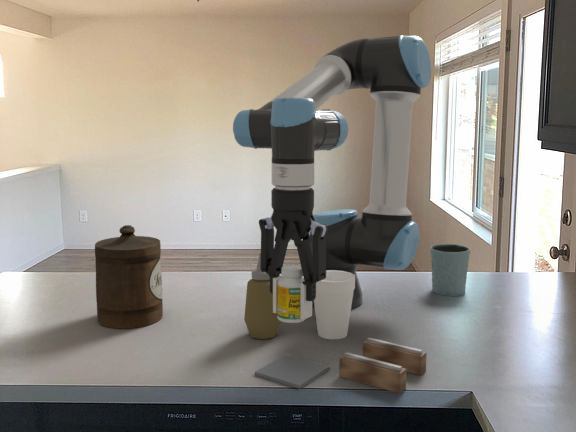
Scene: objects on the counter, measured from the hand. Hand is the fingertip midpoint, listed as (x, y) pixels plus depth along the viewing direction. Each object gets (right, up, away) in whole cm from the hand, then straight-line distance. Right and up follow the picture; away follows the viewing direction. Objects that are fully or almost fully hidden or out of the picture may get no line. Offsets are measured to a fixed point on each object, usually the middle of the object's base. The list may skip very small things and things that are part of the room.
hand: (292, 313), depth 111 cm
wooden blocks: (+17, -11, +1) cm, 20 cm away
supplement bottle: (0, -1, 0) cm, 1 cm away
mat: (0, -11, +2) cm, 11 cm away
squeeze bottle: (-6, -8, +21) cm, 23 cm away
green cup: (+42, -3, +52) cm, 67 cm away
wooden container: (-37, -6, +32) cm, 49 cm away
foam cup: (+9, -8, +21) cm, 24 cm away
